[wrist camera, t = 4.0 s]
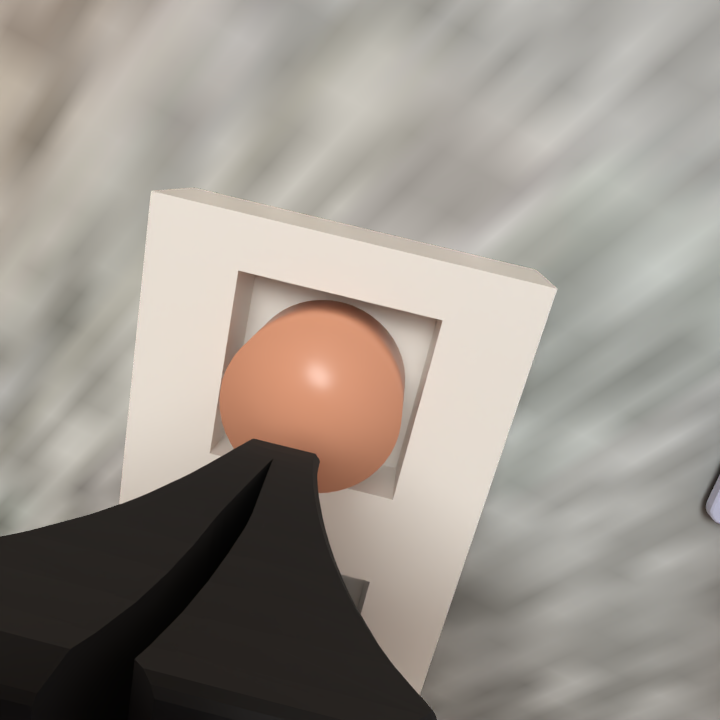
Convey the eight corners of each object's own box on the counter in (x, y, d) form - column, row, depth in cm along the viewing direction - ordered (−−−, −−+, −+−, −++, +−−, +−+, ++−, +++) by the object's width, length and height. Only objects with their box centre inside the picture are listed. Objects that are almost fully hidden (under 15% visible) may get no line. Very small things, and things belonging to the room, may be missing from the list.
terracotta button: (422, 322, 16) (422, 348, 13) (384, 466, 17) (378, 511, 15) (261, 282, 16) (234, 301, 13) (236, 429, 17) (207, 468, 15)
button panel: (536, 269, 17) (557, 288, 14) (353, 835, 24) (344, 916, 22) (194, 187, 17) (151, 190, 14) (120, 772, 25) (84, 844, 22)
